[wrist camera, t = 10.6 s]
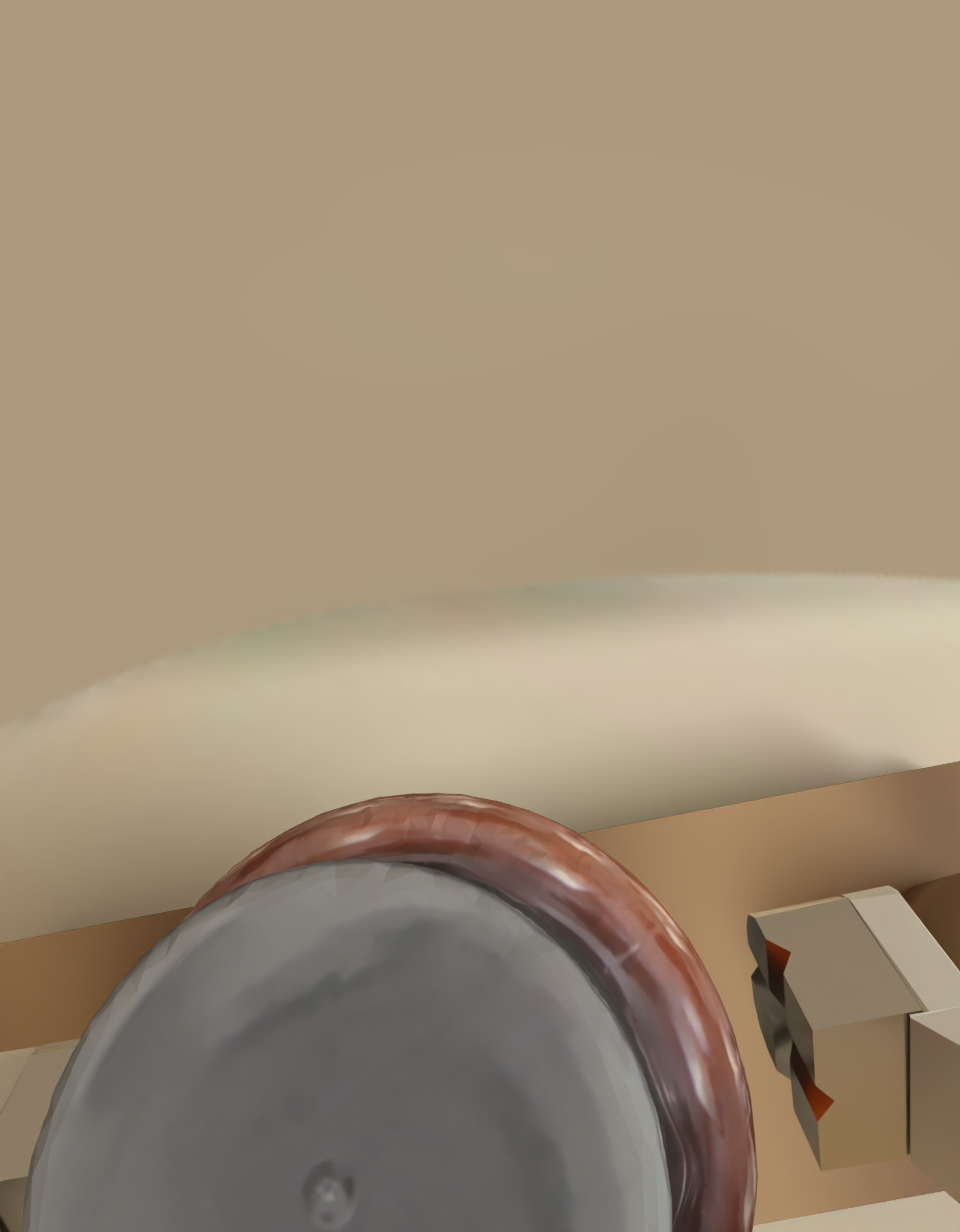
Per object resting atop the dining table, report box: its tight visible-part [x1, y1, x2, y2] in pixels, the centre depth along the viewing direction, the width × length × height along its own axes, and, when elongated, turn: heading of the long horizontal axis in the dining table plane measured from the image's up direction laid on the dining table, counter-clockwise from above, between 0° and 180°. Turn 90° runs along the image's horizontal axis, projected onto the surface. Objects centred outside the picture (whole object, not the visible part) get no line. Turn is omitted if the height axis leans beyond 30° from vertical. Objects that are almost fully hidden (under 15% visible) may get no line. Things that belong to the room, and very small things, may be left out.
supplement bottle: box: [22, 793, 758, 1232], centre depth 10 cm, size 6×6×11 cm
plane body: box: [0, 761, 960, 1225], centre depth 16 cm, size 20×7×5 cm, turn 100°
